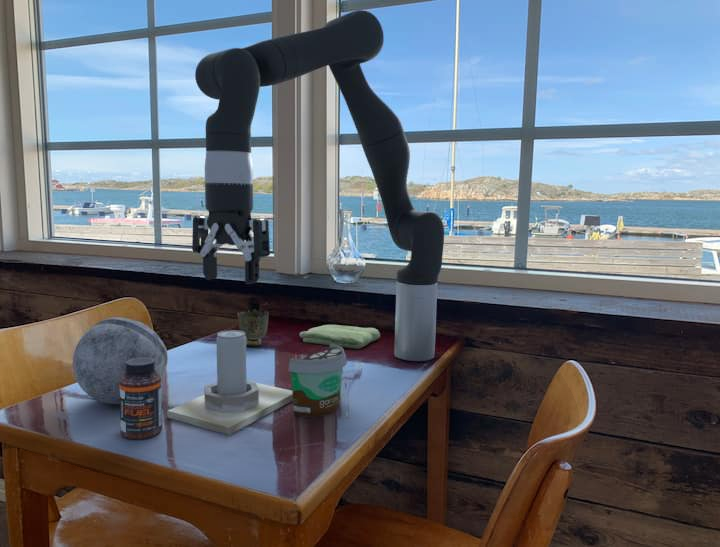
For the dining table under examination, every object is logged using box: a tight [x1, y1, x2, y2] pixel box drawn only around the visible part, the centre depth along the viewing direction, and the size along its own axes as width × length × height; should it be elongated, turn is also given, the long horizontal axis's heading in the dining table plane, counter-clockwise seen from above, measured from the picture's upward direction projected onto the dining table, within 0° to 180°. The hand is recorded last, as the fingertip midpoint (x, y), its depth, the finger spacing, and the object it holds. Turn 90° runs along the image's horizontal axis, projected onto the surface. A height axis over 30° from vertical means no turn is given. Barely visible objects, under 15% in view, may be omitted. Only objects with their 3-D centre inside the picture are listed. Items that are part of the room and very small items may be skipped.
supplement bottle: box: [119, 357, 163, 440], centre depth 84 cm, size 6×6×11 cm
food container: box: [288, 343, 348, 418], centre depth 94 cm, size 12×6×10 cm, turn 148°
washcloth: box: [299, 324, 381, 350], centre depth 141 cm, size 13×18×3 cm
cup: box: [236, 309, 270, 347], centre depth 134 cm, size 8×7×8 cm
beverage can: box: [215, 329, 247, 396], centre depth 93 cm, size 5×5×12 cm
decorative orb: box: [72, 316, 168, 405], centre depth 96 cm, size 15×14×15 cm
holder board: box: [167, 380, 293, 436], centre depth 95 cm, size 18×13×4 cm
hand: (230, 281), depth 91 cm, fingers open, 8 cm apart
